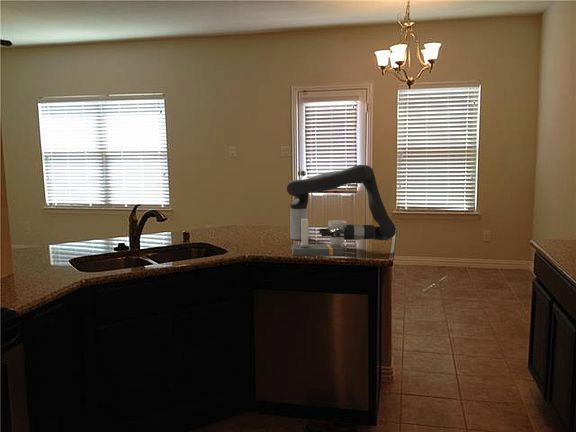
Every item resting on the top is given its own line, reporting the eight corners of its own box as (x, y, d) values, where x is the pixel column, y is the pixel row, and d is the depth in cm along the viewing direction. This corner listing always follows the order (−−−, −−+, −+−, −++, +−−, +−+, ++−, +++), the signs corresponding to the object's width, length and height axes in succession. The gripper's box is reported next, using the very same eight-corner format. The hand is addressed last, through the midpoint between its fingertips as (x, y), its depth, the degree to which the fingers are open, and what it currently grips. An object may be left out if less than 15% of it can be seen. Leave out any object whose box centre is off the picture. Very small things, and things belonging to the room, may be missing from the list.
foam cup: (348, 245, 247) (348, 220, 246) (344, 248, 239) (344, 223, 237) (330, 244, 250) (330, 220, 249) (325, 247, 242) (326, 222, 240)
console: (293, 255, 222) (293, 249, 222) (291, 250, 234) (291, 244, 234) (343, 255, 224) (343, 248, 223) (339, 250, 236) (339, 243, 235)
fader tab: (301, 247, 226) (301, 220, 224) (300, 245, 230) (300, 218, 229) (308, 246, 226) (308, 220, 225) (308, 245, 231) (308, 218, 229)
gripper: (351, 222, 235) (318, 222, 235) (356, 226, 221) (322, 227, 220) (350, 237, 236) (318, 237, 235) (356, 242, 222) (322, 242, 221)
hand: (320, 232), depth 228 cm, fingers open, 8 cm apart
